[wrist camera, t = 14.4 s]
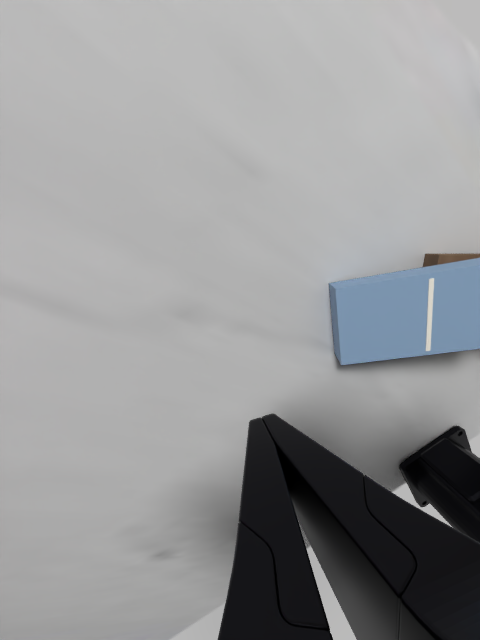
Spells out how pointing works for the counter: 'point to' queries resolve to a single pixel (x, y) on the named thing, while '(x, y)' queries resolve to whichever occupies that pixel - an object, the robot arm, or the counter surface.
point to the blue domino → (407, 313)
